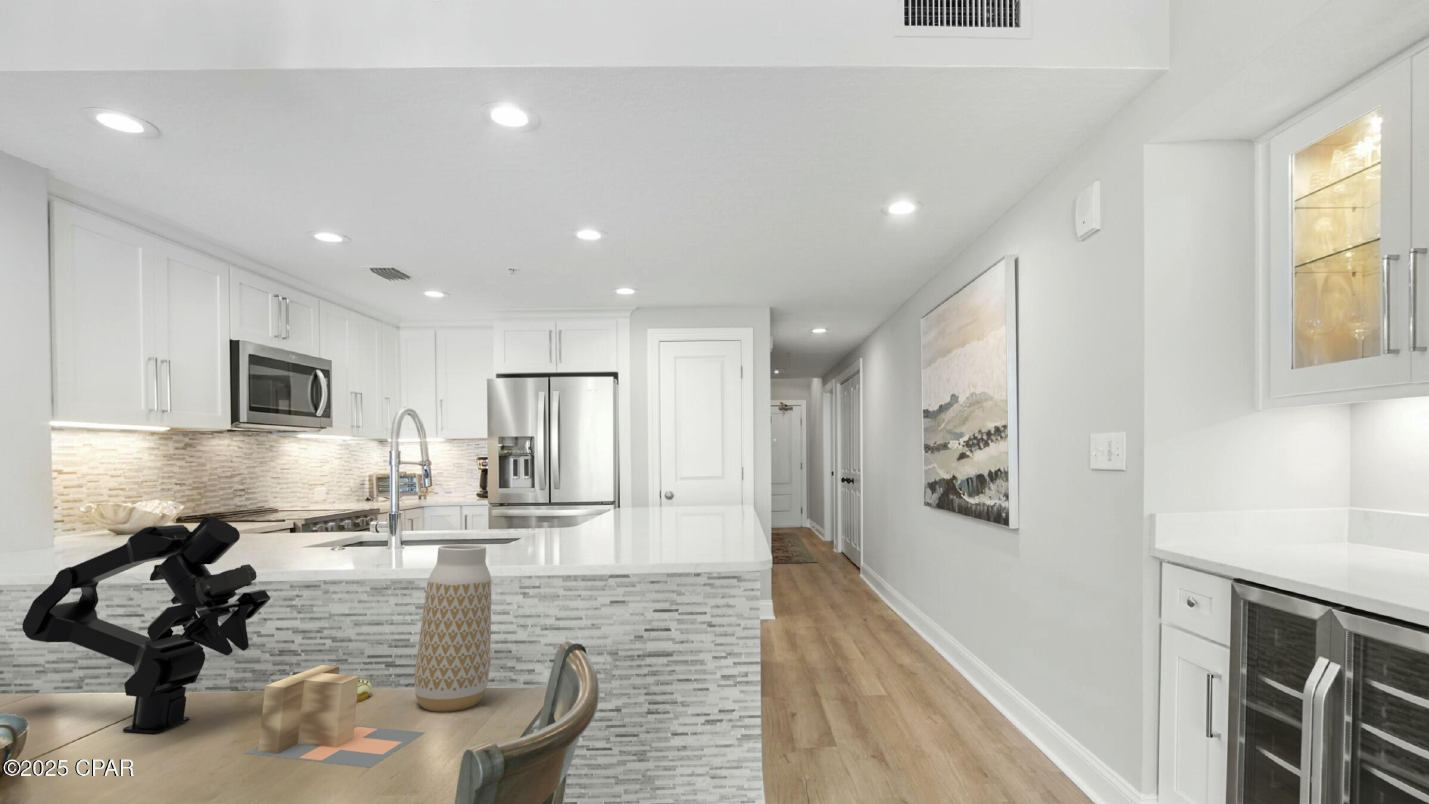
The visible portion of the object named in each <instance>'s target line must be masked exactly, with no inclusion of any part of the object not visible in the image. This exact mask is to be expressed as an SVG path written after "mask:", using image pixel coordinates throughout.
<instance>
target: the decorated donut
mask: <svg viewBox="0 0 1429 804" xmlns="http://www.w3.org/2000/svg"><path fill="white" fill-rule="evenodd" d="M372 687H373V685H372V683H371V681H370V680H368V679H366V678H363V677H360V676H359V681H358V692H357V703H360V702H363V701H365V700H366V699H368V698H369V696H370V695H371V691H372Z"/></svg>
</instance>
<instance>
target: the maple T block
mask: <svg viewBox="0 0 1429 804" xmlns="http://www.w3.org/2000/svg"><path fill="white" fill-rule="evenodd" d="M359 677H360V676H359V675H350V674H349V675H348V674H340V666H339V665H327V664H326V665H325V664H321V665H317V666H315V667H313V668H310V669H306V670H305V671H302V672H298V673H297V674H293V675H291V676H287V677H285V678H283V679H280V680H278V681H275V682H272V683H270V684H266V685H264V694H263V695H264V696H263V705H262V714H261V723H260V731H259V741H258V747H259V748H258V752H266V753H275V754H278V753H280V752H282V751H284V750H286V749H288V748H290V747H292V746H294V745H296V744H306V745H315V746H324V747H334V748H336V747H338V746H340V745H342V744H343V743H345V742H347V741H349V740H351V739H353V736H354V725H356V723H355V722H356V713H357V703H358V702H357V692H358V681H359Z"/></svg>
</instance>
